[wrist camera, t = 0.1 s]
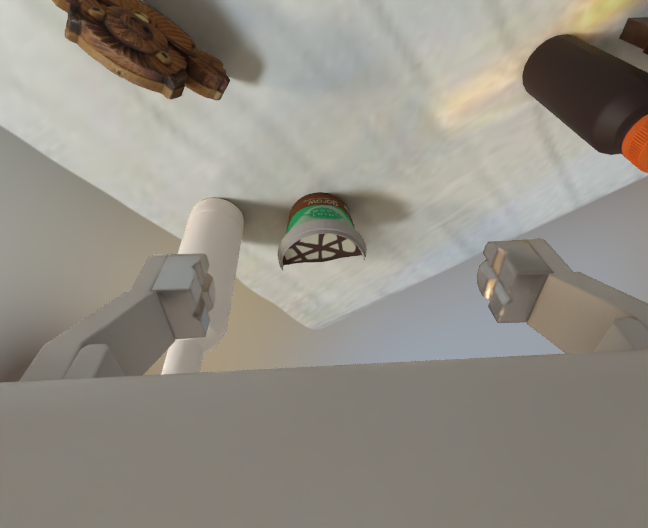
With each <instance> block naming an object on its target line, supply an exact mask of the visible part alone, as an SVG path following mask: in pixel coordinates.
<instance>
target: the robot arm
mask: <svg viewBox="0 0 648 528" xmlns="http://www.w3.org/2000/svg"><path fill="white" fill-rule="evenodd" d="M483 254H484V256H485V257H486V260H485V261H484V262H482V263H481V264H480V265H479V269H478V273H477V283H478V287H479V290H480V292H481V294H482V296H484V297H485V298H487V299H488V300H490V303H489V309H490V310H491V312H492V314H493V316H494V318H495V319H496V321H497V323H516V322H517V323H518V322H527V324H528V325H529V326H531V327H532V328H533V329H534V330H536V331H537V332H539V333H540V334H541V335H542V336H544V337H545V338H546V339H548V340H549V341H550V342H552V343H553V344H554V345H555V346H557V347H558V348H559V349H561V350H562V351H563V352H565V353H566V354H548V355H531V356H510V357H491V358H470V359H452V360H451V359H450V360H430V361H411V362H392V363H373V364H353V365H335V366H316V367H297V368H277V369H259V370H258V369H257V370H240V371H239V370H238V371H220V372H199V373H180V374H160V375H143V374H144V373H145V372H146V371H147V370H148V369H149V368H150V367H151V366H152V365H153V364H154V363H155V362H156V361H157V360H158V359H159V358H160V357H161V355H162V354H163V353H164V352H165V351H166V350H167V349H168V348H169V347H170V346H171V345H172V344H173V343H174V342H175V339H189V338H202V337H206V334H207V330H208V326H209V322H210V317H209V314H208V312H209V311H210V310H212V309H213V306H214V302H215V286H214V281H213V277H212V276H211V275H209V274H208V273H207V272H208V269H209V262H208V258H207V256H206V255H205V254H204V253H202V254H170V255H168V254H163V255H151V256H149V257H148V259H147V260H146V262H145V264H144V266H143V268H142V270H141V272H140V274H139V276H138V278H137V280H136V281H135V283H134V285H133V287H132V289H131V291H130V292H127V293H123V294H121V295H120V296H118V297H117V298H115V299H114V300H112V301H111V302H109V303H108V304H106V305H104V306H103V307H101V308H100V309H99V310H97V311H96V312H94V313H92V314H91V315H89V316H88V317H86V318H85V319H83V320H81V321H80V322H78V323H77V324H75V325H74V326H72V327H71V328H69V329H68V330H66V331H65V332H63V333H62V334H60V335H58V336H57V337H55V338H54V339H52V340H51V341H49V342H48V343H46V344H45V345H43V347H42V348H41V350H40V351H39V353H38V354H37V356H36V357H35V359H34V360H33V361H32V363H31V364H30V366H29V367H28V369H27V370H26V372H25V373H24V375H23V376H22V378H21V379H20V381H19V382H5V383H0V528H648V304H647V303H645V302H643V301H641V300H639V299H636V298H635V297H632V296H630V295H628V294H626V293H624V292H621V291H619V290H617V289H615V288H613V287H611V286H608V285H606V284H604V283H602V282H600V281H597V280H596V279H593V278H591V277H589V276H587V275H585V274H583V273H580V272H573V271H572V270H571V269H570V268H569V266H568V265H567V264H566V263H565V262H564V261H563V260H562V259H561V258H560V256H559V255H558V254H557V253H556V252H555V251H554V250H553V249H552V247H551V246H550V245H549V244H548V243H547V242H546V241H545V240H543V239H541V238H535V239H524V240H511V241H492V242H488V243H487V244H486V246H485V249H484V252H483Z"/></svg>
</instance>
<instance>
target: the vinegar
mask: <svg viewBox="0 0 648 528" xmlns="http://www.w3.org/2000/svg"><path fill="white" fill-rule="evenodd" d="M523 85H524V87H525V89H526V91H527V92H528V93H529V94H530V95H531V96H533V97H534V98H535V99H536V100H537V101H539V102H540V103H541V104H542V105H543V106H545V107H546V108H547V109H548V110H549V111H550V112H552V113H553V114H554V115H555V116H556V117H558V118H559V119H560V120H561V121H562V122H563V123H565V124H566V125H567V126H568V127H569V128H571V129H572V130H573V131H574V132H575V133H577V134H578V135H579V136H580V137H581V138H582V139H584V140H585V141H586V142H587V143H588V144H590V145H591V146H592V147H593V148H595V149H596V150H597V151H598V152H600V153H605V154H610V155H613V154H623V156H624V157H625V158H627V159H628V160H629V161H630V162H631V163H632V164H634V165H635V166H636V167H637V168H639V169H640V170H641V171H643V172H646V173H648V73H647V72H645V71H643V70H641V69H639V68H637V67H635V66H633V65H631V64H629V63H627V62H625V61H623V60H621V59H619V58H617V57H615V56H613V55H611V54H609V53H607V52H605V51H603V50H601V49H599V48H597V47H595V46H593V45H591V44H589V43H587V42H585V41H583V40H581V39H579V38H577V37H574V36H570V35H561V36H556V37H553V38H551V39H549V40H547V41H545V42H544V43H543V44H541V45H540V46H539V47H538V48H537V49H536V50H535V51H534V52H533V53H532V55H531V56H530V57H529V59H528V61H527V63H526V65H525V67H524V71H523Z"/></svg>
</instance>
